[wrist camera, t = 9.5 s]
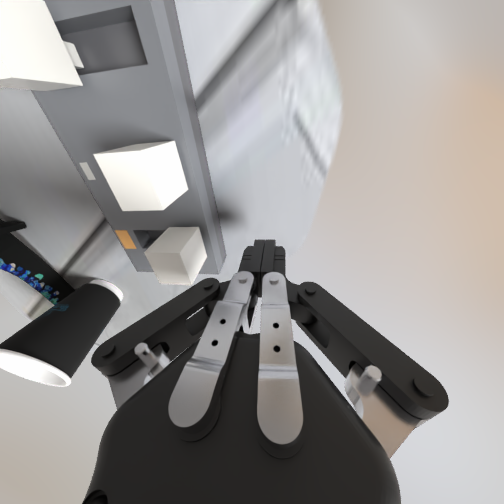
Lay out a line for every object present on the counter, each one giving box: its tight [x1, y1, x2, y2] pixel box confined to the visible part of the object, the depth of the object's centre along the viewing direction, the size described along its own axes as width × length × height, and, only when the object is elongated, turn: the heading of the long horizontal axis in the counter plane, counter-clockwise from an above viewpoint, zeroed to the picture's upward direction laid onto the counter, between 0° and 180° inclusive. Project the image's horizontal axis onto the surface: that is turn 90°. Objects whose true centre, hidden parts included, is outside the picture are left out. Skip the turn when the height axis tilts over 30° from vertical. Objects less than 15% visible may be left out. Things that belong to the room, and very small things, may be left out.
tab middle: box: [93, 141, 188, 211], centre depth 12 cm, size 3×3×5 cm
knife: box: [0, 219, 75, 305], centre depth 23 cm, size 31×3×4 cm, turn 0°
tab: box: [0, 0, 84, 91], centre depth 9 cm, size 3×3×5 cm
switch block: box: [31, 0, 226, 274], centre depth 15 cm, size 20×9×3 cm, turn 5°
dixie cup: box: [0, 279, 123, 387], centre depth 24 cm, size 8×8×11 cm
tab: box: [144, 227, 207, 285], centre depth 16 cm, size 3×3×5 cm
